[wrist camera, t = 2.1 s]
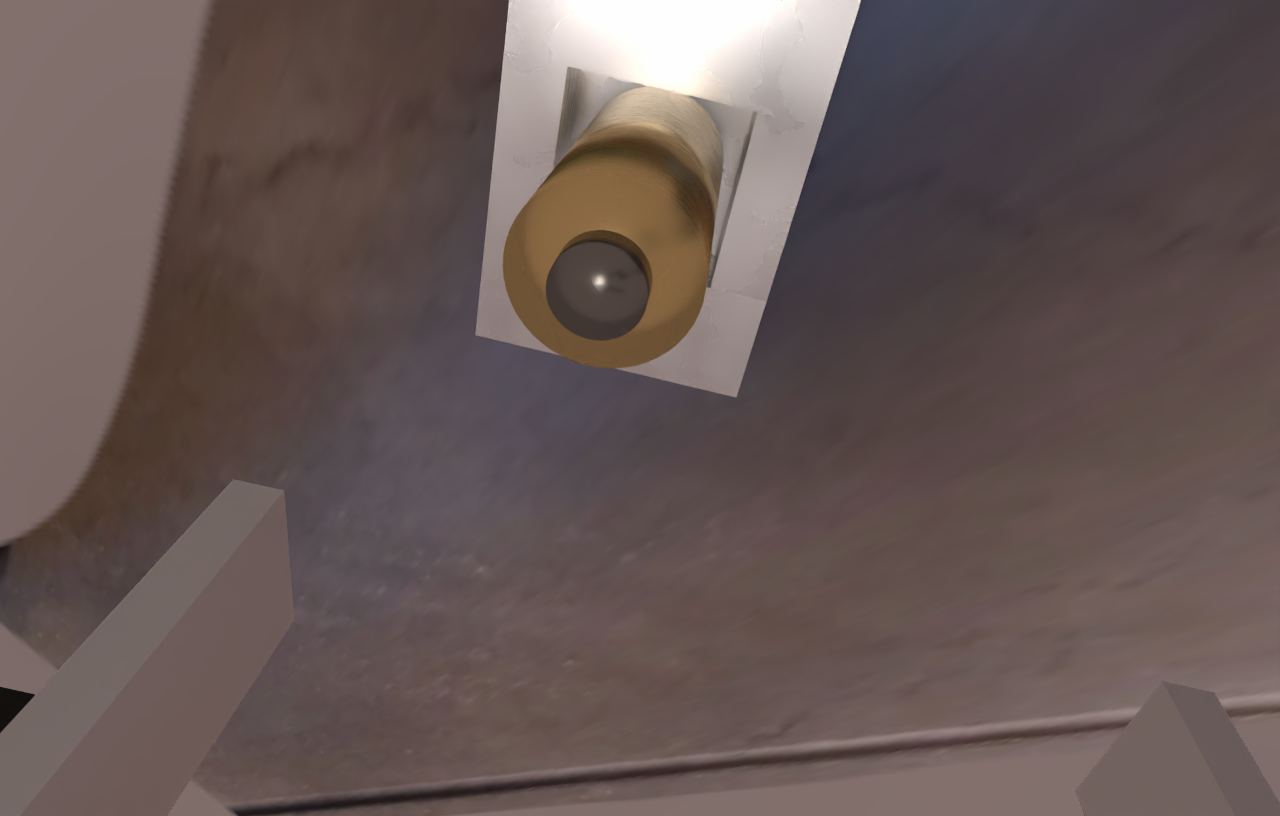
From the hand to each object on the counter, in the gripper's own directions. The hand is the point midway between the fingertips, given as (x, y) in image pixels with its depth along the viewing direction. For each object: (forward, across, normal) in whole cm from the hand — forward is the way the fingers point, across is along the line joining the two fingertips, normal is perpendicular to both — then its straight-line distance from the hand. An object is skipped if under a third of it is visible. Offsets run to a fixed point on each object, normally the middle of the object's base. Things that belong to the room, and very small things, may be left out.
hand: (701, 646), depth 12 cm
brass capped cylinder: (+20, -3, +2) cm, 21 cm away
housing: (+22, -3, +2) cm, 22 cm away
